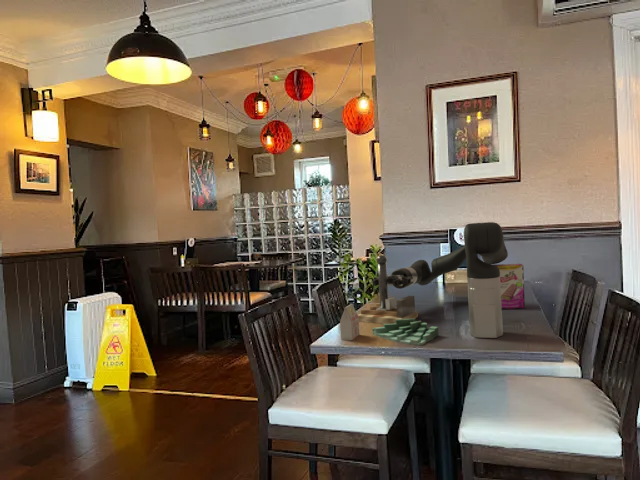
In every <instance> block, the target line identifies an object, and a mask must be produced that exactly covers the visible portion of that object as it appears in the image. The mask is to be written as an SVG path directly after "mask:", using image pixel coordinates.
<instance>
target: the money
mask: <svg viewBox="0 0 640 480" xmlns="http://www.w3.org/2000/svg"><path fill="white" fill-rule="evenodd" d="M371 329H372V335H374V336H376V337H379V338H382V339H384V340H387V341H392V342H394V343H395V342H396V343H400V344H406V345H414V346H424V345H425V344H426V343H428V342H430V341H432V340H434V339H435V338H437V337H439V329H440V328H439V326H433V325H432V326H430V327H429V328H428V323H427V322H422V320H418V321H417V320H416V318H415V319H397V320H396V323H394V324H382V327H373V328H371Z"/></svg>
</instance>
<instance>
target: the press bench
mask: <svg viewBox="0 0 640 480" xmlns="http://www.w3.org/2000/svg"><path fill="white" fill-rule="evenodd" d="M415 304H416V303H415V295H407V296H404V297H402V298H399V299H396V306H397V307H395V308H393V312H389V311H376V309H377V308H380V306H370V307H369V309H360V313H358V314H357V315H358V319H359V323H360V322H362V323H373V324H381V325H383V324H394V323H396V320H397V319H416V318H419V314H418V313H419V311H416V305H415Z"/></svg>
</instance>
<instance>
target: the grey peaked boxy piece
mask: <svg viewBox="0 0 640 480" xmlns="http://www.w3.org/2000/svg"><path fill="white" fill-rule="evenodd" d="M358 315H359V314H358V313H357V311H356V309H355V307H354V304H353V303H350V304H349V305H346V306H345V307H344V309H343V312H342V315H341V317H340V319H339V323H340V326H339V327H340V328H339V329H340V340H341V341H353V340H354V339H356V338H357V337H358V336H360V324H359V323H360V322H359V319H358Z"/></svg>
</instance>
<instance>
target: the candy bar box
mask: <svg viewBox="0 0 640 480" xmlns="http://www.w3.org/2000/svg"><path fill="white" fill-rule="evenodd" d="M494 265H495V266H497V267H498V268H499V270H500V287H501V306H502V310H505V309H507V310H508V309H509V310H510V309H525V308H526V307H525V306H526V303H525V302H526V301H525V275H524V274H525V273H524V271H525V270H524V264H522V263H502V264H501V263H497V264H494Z"/></svg>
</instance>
